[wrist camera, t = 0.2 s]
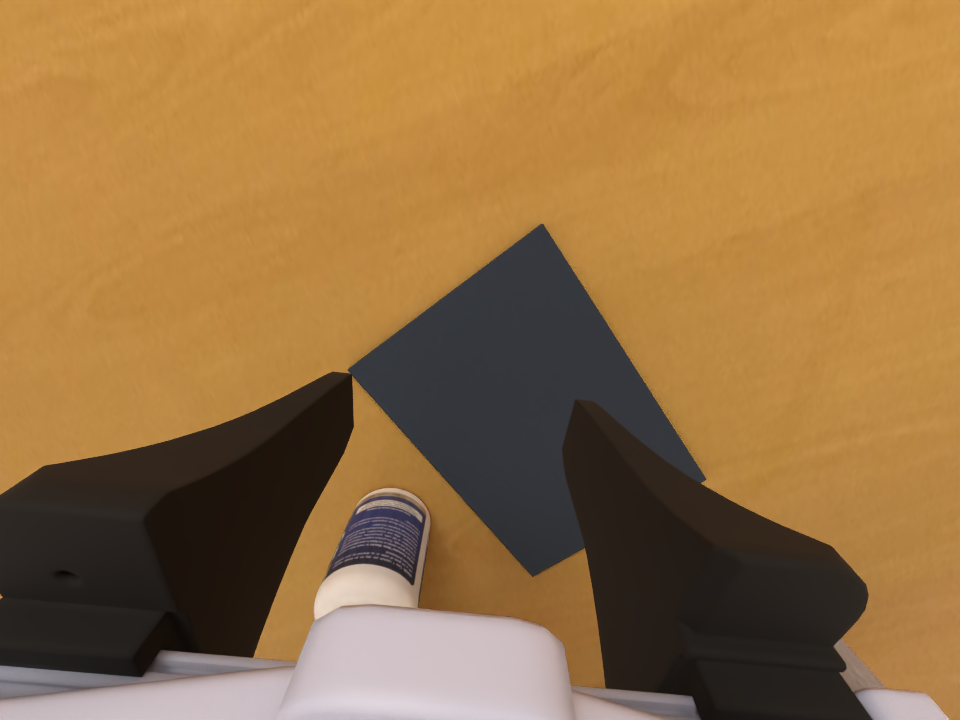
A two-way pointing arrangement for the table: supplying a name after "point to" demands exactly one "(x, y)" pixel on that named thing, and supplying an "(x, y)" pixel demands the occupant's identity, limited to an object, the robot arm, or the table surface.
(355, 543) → the pill bottle
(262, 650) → the table surface
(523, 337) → the felt mat
